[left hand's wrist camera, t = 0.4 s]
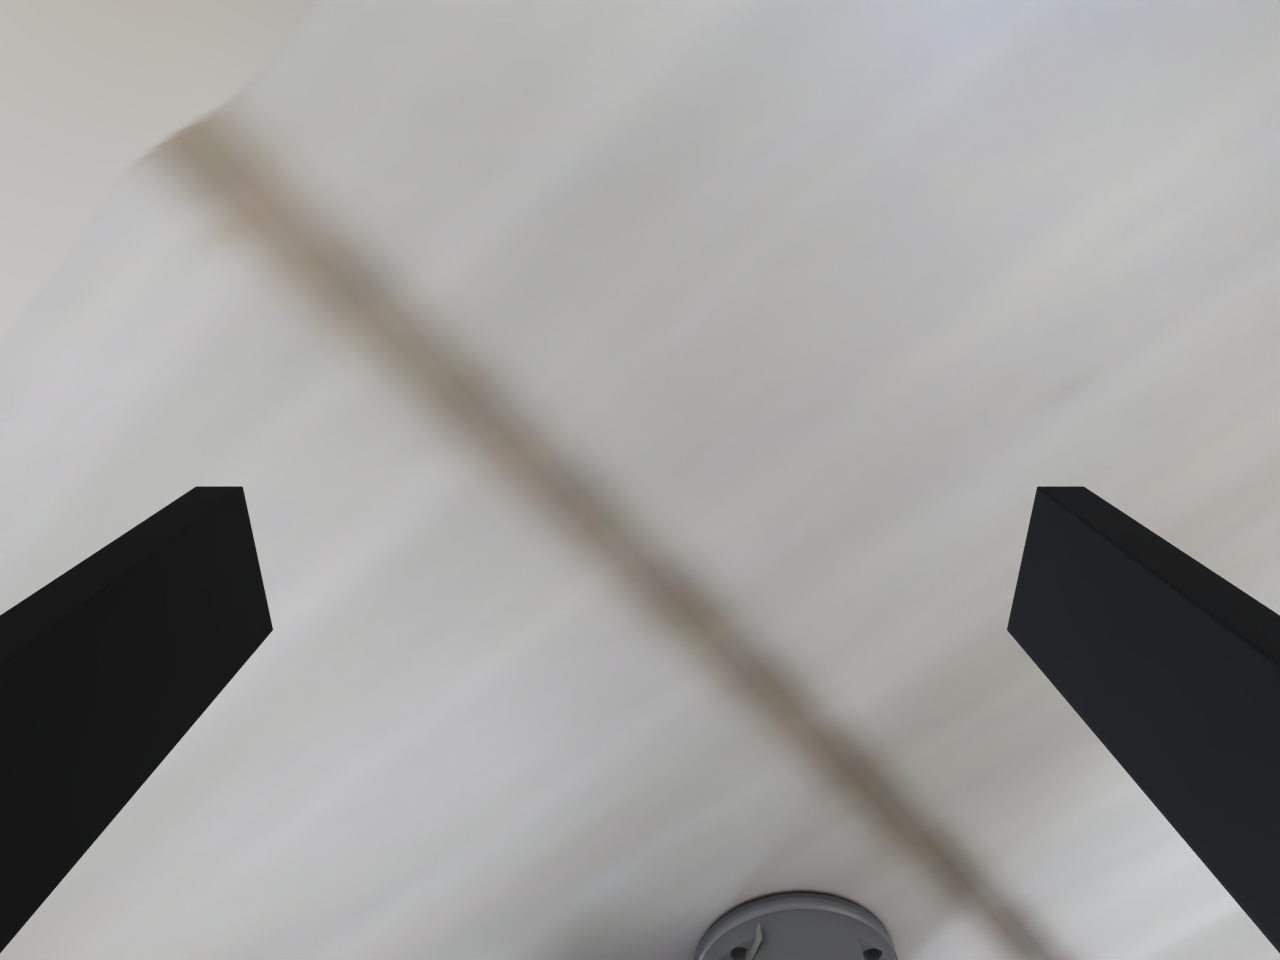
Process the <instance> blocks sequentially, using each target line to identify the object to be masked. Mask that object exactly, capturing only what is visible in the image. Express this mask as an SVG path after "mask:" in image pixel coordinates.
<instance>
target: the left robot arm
mask: <svg viewBox="0 0 1280 960" xmlns="http://www.w3.org/2000/svg"><path fill="white" fill-rule="evenodd" d="M272 630H273V628H272V623H271V618H270V614H269V609H268V604H267V599H266V595H265V590H264V585H263V580H262V576H261V571H260V566H259V562H258V557H257V552H256V547H255V543H254V538H253V533H252V529H251V524H250V519H249V514H248V510H247V505H246V500H245V495H244V491H243V487H195V488H193V489H192V490H190V491H189V492H187V493H186V494H184V495H183V496H181V497H180V498H178V499H177V500H175V501H174V502H172V503H171V504H169V505H168V506H166V507H165V508H163V509H162V510H160V511H158V512H157V513H155V514H154V515H152V516H151V517H149V518H148V519H146V520H145V521H143V522H142V523H140V524H139V525H137V526H136V527H134V528H133V529H131V530H130V531H128V532H127V533H125V534H124V535H122V536H120V537H119V538H117V539H116V540H114V541H113V542H111V543H110V544H108V545H107V546H105V547H104V548H102V549H101V550H99V551H98V552H96V553H95V554H93V555H92V556H90V557H89V558H87V559H86V560H84V561H82V562H81V563H79V564H78V565H76V566H75V567H73V568H72V569H70V570H69V571H67V572H66V573H64V574H63V575H61V576H60V577H58V578H57V579H55V580H54V581H52V582H51V583H49V584H48V585H46V586H44V587H43V588H41V589H40V590H38V591H37V592H35V593H34V594H32V595H31V596H29V597H28V598H26V599H25V600H23V601H22V602H20V603H19V604H17V605H16V606H14V607H13V608H11V609H10V610H8V611H6V612H5V613H3V614H2V615H0V953H1V952H2V950H3V949H4V948H5V947H6V946H7V945H8V943H9V942H10V941H11V940H12V939H13V937H14V936H15V935H16V934H17V933H18V931H19V930H20V929H21V928H22V927H23V926H24V924H25V923H26V922H27V921H28V920H29V918H30V917H31V916H32V915H33V914H34V913H35V911H36V910H37V909H38V908H39V907H40V905H41V904H42V903H43V902H44V901H45V899H46V898H47V897H48V896H49V895H50V894H51V892H52V891H53V890H54V889H55V888H56V886H57V885H58V884H59V883H60V882H61V881H62V879H63V878H64V877H65V876H66V875H67V873H68V872H69V871H70V870H71V869H72V867H73V866H74V865H75V864H76V863H77V862H78V860H79V859H80V858H81V857H82V856H83V854H84V853H85V852H86V851H87V850H88V849H89V847H90V846H91V845H92V844H93V843H94V841H95V840H96V839H97V838H98V837H99V835H100V834H101V833H102V832H103V831H104V830H105V828H106V827H107V826H108V825H109V824H110V822H111V821H112V820H113V819H114V818H115V816H116V815H117V814H118V813H119V812H120V811H121V809H122V808H123V807H124V806H125V805H126V803H127V802H128V801H129V800H130V799H131V798H132V796H133V795H134V794H135V793H136V792H137V790H138V789H139V788H140V787H141V786H142V784H143V783H144V782H145V781H146V780H147V779H148V777H149V776H150V775H151V774H152V773H153V771H154V770H155V769H156V768H157V767H158V766H159V764H160V763H161V762H162V761H163V760H164V758H165V757H166V756H167V755H168V754H169V752H170V751H171V750H172V749H173V748H174V747H175V745H176V744H177V743H178V742H179V741H180V739H181V738H182V737H183V736H184V735H185V734H186V732H187V731H188V730H189V729H190V728H191V726H192V725H193V724H194V723H195V722H196V720H197V719H198V718H199V717H200V716H201V715H202V713H203V712H204V711H205V710H206V709H207V707H208V706H209V705H210V704H211V703H212V702H213V700H214V699H215V698H216V697H217V696H218V694H219V693H220V692H221V691H222V690H223V688H224V687H225V686H226V685H227V684H228V683H229V681H230V680H231V679H232V678H233V677H234V675H235V674H236V673H237V672H238V671H239V669H240V668H241V667H242V666H243V665H244V664H245V662H246V661H247V660H248V659H249V658H250V656H251V655H252V654H253V653H254V652H255V651H256V649H257V648H258V647H259V646H260V645H261V643H262V642H263V641H264V640H265V639H266V637H267V636H268V635H269V634H270V633H271V632H272ZM1007 630H1008V632H1009V633H1010V634H1011V635H1012V636H1013V637H1014V639H1015V640H1016V641H1017V642H1018V643H1019V645H1020V646H1021V647H1022V648H1023V649H1024V651H1025V652H1026V653H1027V654H1028V655H1029V656H1030V658H1031V659H1032V660H1033V661H1034V662H1035V664H1036V665H1037V666H1038V667H1039V668H1040V669H1041V671H1042V672H1043V673H1044V674H1045V675H1046V677H1047V678H1048V679H1049V680H1050V681H1051V683H1052V684H1053V685H1054V686H1055V687H1056V688H1057V690H1058V691H1059V692H1060V693H1061V694H1062V696H1063V697H1064V698H1065V699H1066V700H1067V702H1068V703H1069V704H1070V705H1071V706H1072V707H1073V709H1074V710H1075V711H1076V712H1077V713H1078V715H1079V716H1080V717H1081V718H1082V719H1083V720H1084V722H1085V723H1086V724H1087V725H1088V726H1089V728H1090V729H1091V730H1092V731H1093V732H1094V734H1095V735H1096V736H1097V737H1098V738H1099V739H1100V741H1101V742H1102V743H1103V744H1104V745H1105V747H1106V748H1107V749H1108V750H1109V751H1110V752H1111V754H1112V755H1113V756H1114V757H1115V758H1116V760H1117V761H1118V762H1119V763H1120V764H1121V766H1122V767H1123V768H1124V769H1125V770H1126V771H1127V773H1128V774H1129V775H1130V776H1131V777H1132V779H1133V780H1134V781H1135V782H1136V783H1137V784H1138V786H1139V787H1140V788H1141V789H1142V790H1143V792H1144V793H1145V794H1146V795H1147V796H1148V798H1149V799H1150V800H1151V801H1152V802H1153V803H1154V805H1155V806H1156V807H1157V808H1158V809H1159V811H1160V812H1161V813H1162V814H1163V815H1164V817H1165V818H1166V819H1167V820H1168V821H1169V822H1170V824H1171V825H1172V826H1173V827H1174V828H1175V830H1176V831H1177V832H1178V833H1179V834H1180V835H1181V837H1182V838H1183V839H1184V840H1185V841H1186V843H1187V844H1188V845H1189V846H1190V847H1191V849H1192V850H1193V851H1194V852H1195V853H1196V854H1197V856H1198V857H1199V858H1200V859H1201V860H1202V862H1203V863H1204V864H1205V865H1206V866H1207V867H1208V869H1209V870H1210V871H1211V872H1212V873H1213V875H1214V876H1215V877H1216V878H1217V879H1218V881H1219V882H1220V883H1221V884H1222V885H1223V886H1224V888H1225V889H1226V890H1227V891H1228V892H1229V894H1230V895H1231V896H1232V897H1233V898H1234V899H1235V901H1236V902H1237V903H1238V904H1239V905H1240V907H1241V908H1242V909H1243V910H1244V911H1245V913H1246V914H1247V915H1248V916H1249V917H1250V918H1251V920H1252V921H1253V922H1254V923H1255V924H1256V926H1257V927H1258V928H1259V929H1260V930H1261V931H1262V933H1263V934H1264V935H1265V936H1266V937H1267V939H1268V940H1269V941H1270V942H1271V943H1272V945H1273V946H1274V947H1275V948H1276V949H1277V950H1278V952H1279V953H1280V615H1278V614H1277V613H1275V612H1274V611H1272V610H1270V609H1269V608H1267V607H1266V606H1264V605H1263V604H1261V603H1260V602H1258V601H1257V600H1255V599H1254V598H1252V597H1251V596H1249V595H1248V594H1246V593H1245V592H1243V591H1242V590H1240V589H1239V588H1237V587H1236V586H1234V585H1232V584H1231V583H1229V582H1228V581H1226V580H1225V579H1223V578H1222V577H1220V576H1219V575H1217V574H1216V573H1214V572H1213V571H1211V570H1210V569H1208V568H1207V567H1205V566H1204V565H1202V564H1201V563H1199V562H1198V561H1196V560H1194V559H1193V558H1191V557H1190V556H1188V555H1187V554H1185V553H1184V552H1182V551H1181V550H1179V549H1178V548H1176V547H1175V546H1173V545H1172V544H1170V543H1169V542H1167V541H1166V540H1164V539H1163V538H1161V537H1160V536H1158V535H1156V534H1155V533H1153V532H1152V531H1150V530H1149V529H1147V528H1146V527H1144V526H1143V525H1141V524H1140V523H1138V522H1137V521H1135V520H1134V519H1132V518H1131V517H1129V516H1128V515H1126V514H1125V513H1123V512H1122V511H1120V510H1118V509H1117V508H1115V507H1114V506H1112V505H1111V504H1109V503H1108V502H1106V501H1105V500H1103V499H1102V498H1100V497H1099V496H1097V495H1096V494H1094V493H1093V492H1091V491H1090V490H1088V489H1087V488H1085V487H1037V491H1036V495H1035V500H1034V505H1033V510H1032V514H1031V519H1030V524H1029V529H1028V533H1027V538H1026V543H1025V547H1024V552H1023V557H1022V562H1021V566H1020V571H1019V576H1018V580H1017V585H1016V590H1015V595H1014V599H1013V604H1012V609H1011V613H1010V618H1009V623H1008V628H1007ZM694 960H898V959H897V956H896V953H895V950H894V947H893V944H892V941H891V938H890V936H889V934H888V932H887V931H886V929H885V928H884V926H883V925H882V924H881V923H880V922H879V921H878V920H877V919H876V918H875V917H874V916H873V915H872V914H870V913H869V912H868V911H866V910H864V909H863V908H861V907H859V906H857V905H855V904H853V903H851V902H848V901H846V900H843V899H840V898H836V897H833V896H827V895H822V894H813V893H790V894H781V895H775V896H770V897H766V898H762V899H759V900H756V901H752V902H750V903H747V904H745V905H743V906H741V907H739V908H737V909H735V910H733V911H731V912H730V913H728V914H726V915H725V916H724V917H722V918H721V919H720V920H719V921H717V922H716V923H715V924H714V925H713V926H712V927H711V928H710V929H709V930H708V931H707V933H706V934H705V935H704V937H703V938H702V940H701V942H700V943H699V945H698V948H697V950H696V953H695V957H694Z"/></svg>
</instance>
